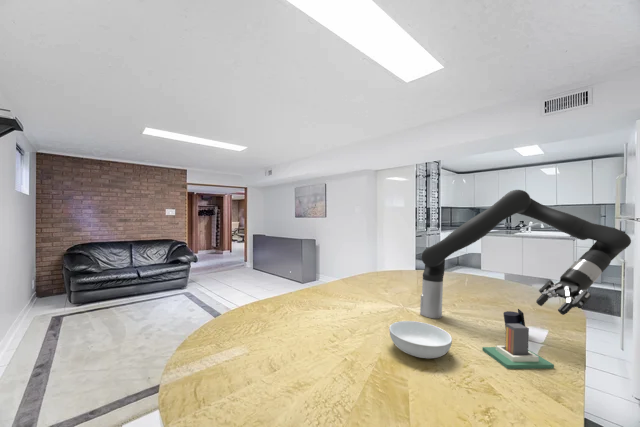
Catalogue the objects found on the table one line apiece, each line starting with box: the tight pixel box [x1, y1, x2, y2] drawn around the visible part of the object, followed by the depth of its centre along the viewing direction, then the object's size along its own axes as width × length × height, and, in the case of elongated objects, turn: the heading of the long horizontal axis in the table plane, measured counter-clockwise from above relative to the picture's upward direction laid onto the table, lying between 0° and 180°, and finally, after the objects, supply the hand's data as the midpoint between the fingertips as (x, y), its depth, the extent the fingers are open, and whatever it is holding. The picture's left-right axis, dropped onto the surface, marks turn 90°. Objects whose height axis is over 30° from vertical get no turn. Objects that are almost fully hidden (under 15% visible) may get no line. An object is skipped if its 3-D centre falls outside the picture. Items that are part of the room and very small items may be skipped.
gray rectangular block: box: [504, 324, 530, 356], centre depth 96 cm, size 5×4×10 cm
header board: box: [482, 345, 555, 370], centre depth 96 cm, size 16×12×3 cm
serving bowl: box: [388, 320, 453, 359], centre depth 99 cm, size 21×21×7 cm
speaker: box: [503, 308, 526, 329], centre depth 117 cm, size 8×6×10 cm
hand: (549, 308), depth 97 cm, fingers open, 8 cm apart
